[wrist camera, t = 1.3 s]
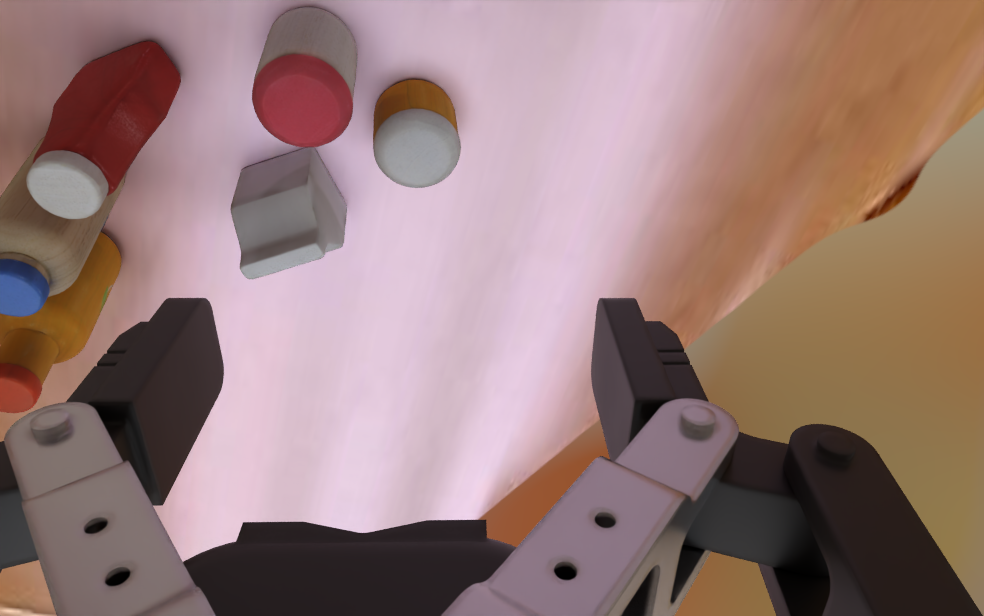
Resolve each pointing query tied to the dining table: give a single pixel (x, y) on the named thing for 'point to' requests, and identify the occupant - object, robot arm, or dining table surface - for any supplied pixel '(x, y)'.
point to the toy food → (258, 196)
